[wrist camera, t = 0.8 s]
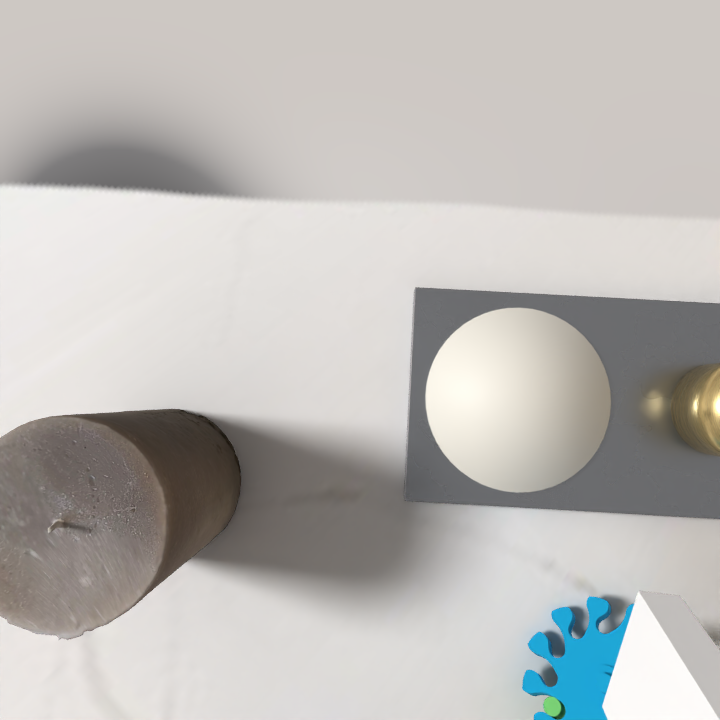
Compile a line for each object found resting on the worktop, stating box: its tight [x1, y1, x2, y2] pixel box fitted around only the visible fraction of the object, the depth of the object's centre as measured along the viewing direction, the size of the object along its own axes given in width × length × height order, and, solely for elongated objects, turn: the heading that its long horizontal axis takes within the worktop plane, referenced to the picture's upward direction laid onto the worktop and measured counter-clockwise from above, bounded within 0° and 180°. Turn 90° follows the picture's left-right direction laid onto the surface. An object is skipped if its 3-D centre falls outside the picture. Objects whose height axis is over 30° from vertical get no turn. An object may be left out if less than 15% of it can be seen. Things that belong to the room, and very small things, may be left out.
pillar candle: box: [0, 409, 241, 640], centre depth 31 cm, size 10×10×15 cm
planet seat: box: [425, 308, 611, 493], centre depth 38 cm, size 12×12×1 cm
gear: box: [522, 597, 634, 720], centre depth 35 cm, size 11×6×10 cm
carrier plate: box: [404, 288, 720, 519], centre depth 35 cm, size 26×14×7 cm, turn 87°
